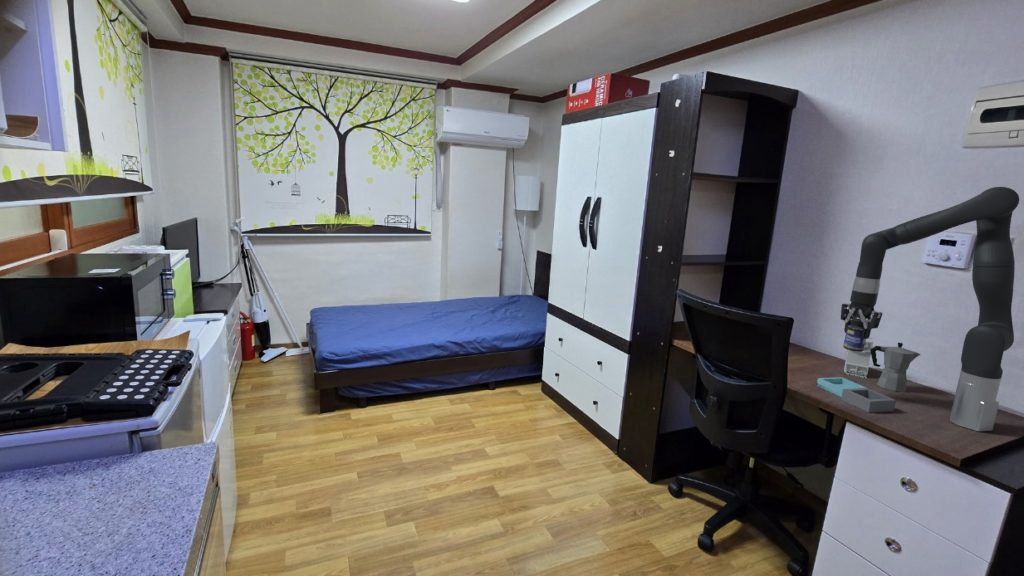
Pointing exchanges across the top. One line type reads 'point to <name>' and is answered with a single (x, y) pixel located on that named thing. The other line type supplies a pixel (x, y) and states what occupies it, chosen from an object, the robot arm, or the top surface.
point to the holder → (868, 400)
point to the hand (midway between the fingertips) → (855, 335)
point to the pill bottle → (854, 336)
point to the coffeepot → (894, 366)
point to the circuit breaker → (859, 360)
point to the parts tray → (837, 385)
